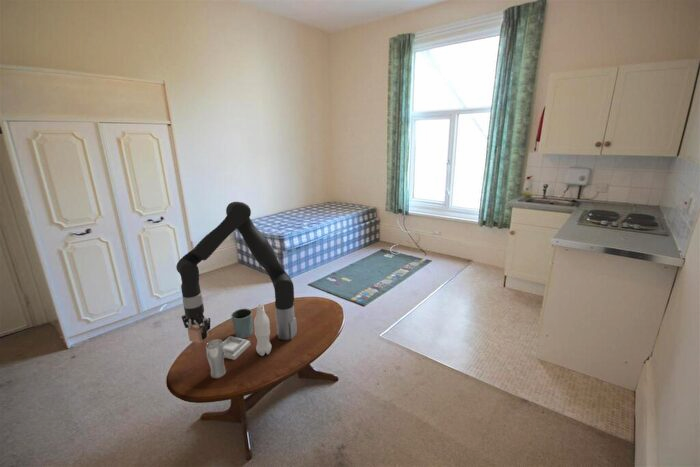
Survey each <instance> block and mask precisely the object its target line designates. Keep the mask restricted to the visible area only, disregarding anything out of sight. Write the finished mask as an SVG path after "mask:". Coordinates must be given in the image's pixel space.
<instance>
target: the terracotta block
mask: <svg viewBox="0 0 700 467" xmlns="http://www.w3.org/2000/svg"><path fill="white" fill-rule="evenodd" d="M200 325H202V324H200ZM202 328H203V329H204V327H202ZM187 334H188V338H189V342H192V343H193V342H194V343H197V344H201V343H202V342H203V341H204V340H203V339H202V335H201V330H200V329H198V327H197V325H193V326H192V327H190V328H187ZM208 337H209V330H208V331H207V338H208Z"/></svg>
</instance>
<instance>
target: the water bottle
mask: <svg viewBox="0 0 700 467" xmlns="http://www.w3.org/2000/svg"><path fill="white" fill-rule="evenodd" d="M253 329H254V335H255V337H256V340H257V342H256V346H255V351H256V353H257V354H258V355H259V356H261V357H264V356H265V354H266V355H270V353H271V351H272V344H271V342H270V334H271V326H270V318H269V316H268V315H267V314H266V312H265V307H264V304H263V303H262V304H261V303H260V304H257V305H256V315H255V317H254V319H253Z"/></svg>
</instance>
